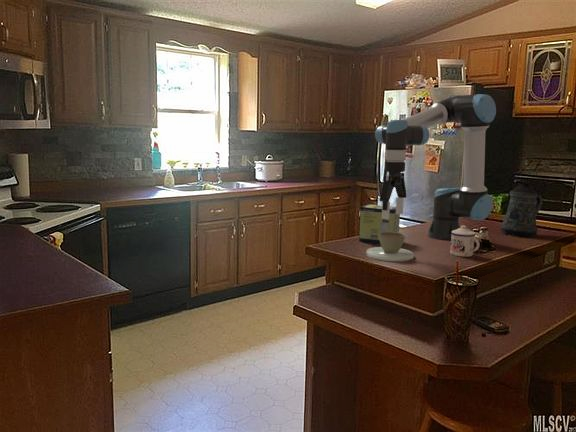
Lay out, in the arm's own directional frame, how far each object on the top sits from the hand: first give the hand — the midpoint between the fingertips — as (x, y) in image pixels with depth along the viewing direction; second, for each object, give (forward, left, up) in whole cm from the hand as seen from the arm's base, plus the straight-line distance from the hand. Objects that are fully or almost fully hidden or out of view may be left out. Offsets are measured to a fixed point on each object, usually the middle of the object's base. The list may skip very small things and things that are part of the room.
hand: (392, 216), depth 194 cm
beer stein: (-86, +32, -16) cm, 93 cm away
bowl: (0, 0, -14) cm, 14 cm away
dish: (0, 0, -16) cm, 16 cm away
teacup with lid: (-21, +23, -16) cm, 35 cm away
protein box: (-23, -15, -16) cm, 32 cm away
